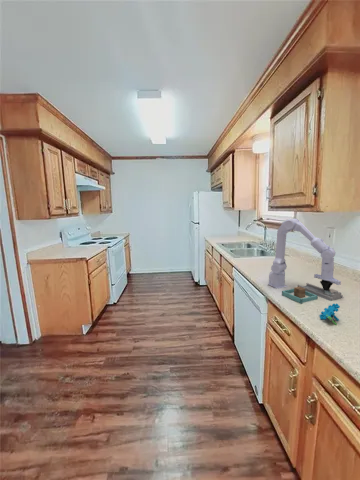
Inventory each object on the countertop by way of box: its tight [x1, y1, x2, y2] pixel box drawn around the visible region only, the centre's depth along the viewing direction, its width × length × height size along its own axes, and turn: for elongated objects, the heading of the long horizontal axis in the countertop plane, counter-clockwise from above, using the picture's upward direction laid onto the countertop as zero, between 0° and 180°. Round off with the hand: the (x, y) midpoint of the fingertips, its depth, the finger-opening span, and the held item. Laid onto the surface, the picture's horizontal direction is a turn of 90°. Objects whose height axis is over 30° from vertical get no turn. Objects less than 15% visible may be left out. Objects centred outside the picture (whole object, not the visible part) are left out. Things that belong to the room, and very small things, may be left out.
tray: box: [281, 288, 319, 305], centre depth 132 cm, size 14×12×2 cm
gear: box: [319, 303, 341, 326], centre depth 106 cm, size 11×6×10 cm
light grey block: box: [324, 288, 339, 297], centre depth 129 cm, size 4×5×4 cm
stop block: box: [293, 286, 306, 299], centre depth 132 cm, size 4×4×5 cm
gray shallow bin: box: [297, 282, 344, 302], centre depth 136 cm, size 22×10×4 cm, turn 20°
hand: (326, 293), depth 132 cm, fingers closed
